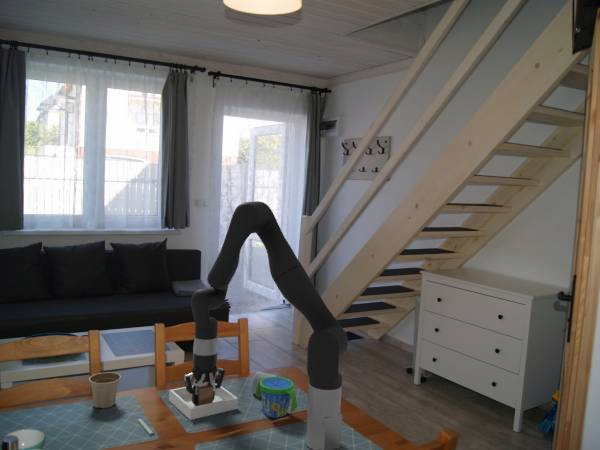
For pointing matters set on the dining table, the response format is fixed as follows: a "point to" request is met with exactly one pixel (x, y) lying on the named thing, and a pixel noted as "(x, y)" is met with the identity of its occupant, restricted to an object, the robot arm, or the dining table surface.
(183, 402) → the white bin
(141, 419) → the sage mat
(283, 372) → the dining table surface
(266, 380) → the snack cup
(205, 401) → the walnut block
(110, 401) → the flower pot
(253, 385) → the ceramic mug
